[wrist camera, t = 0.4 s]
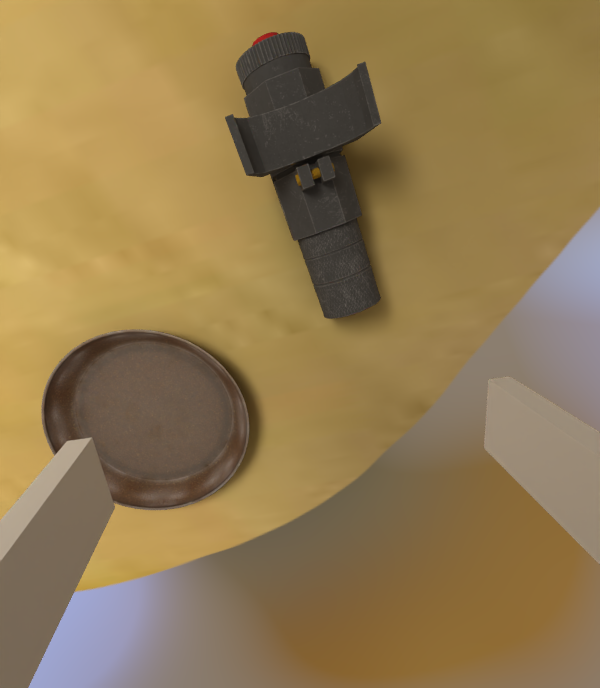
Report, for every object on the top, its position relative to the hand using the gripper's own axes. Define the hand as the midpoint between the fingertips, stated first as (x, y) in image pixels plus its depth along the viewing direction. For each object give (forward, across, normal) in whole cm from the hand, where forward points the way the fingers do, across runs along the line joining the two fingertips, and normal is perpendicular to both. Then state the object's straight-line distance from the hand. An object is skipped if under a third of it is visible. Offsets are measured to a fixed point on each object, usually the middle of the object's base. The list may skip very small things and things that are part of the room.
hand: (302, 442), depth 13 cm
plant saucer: (+28, -14, -12) cm, 33 cm away
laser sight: (+28, +5, +9) cm, 29 cm away
